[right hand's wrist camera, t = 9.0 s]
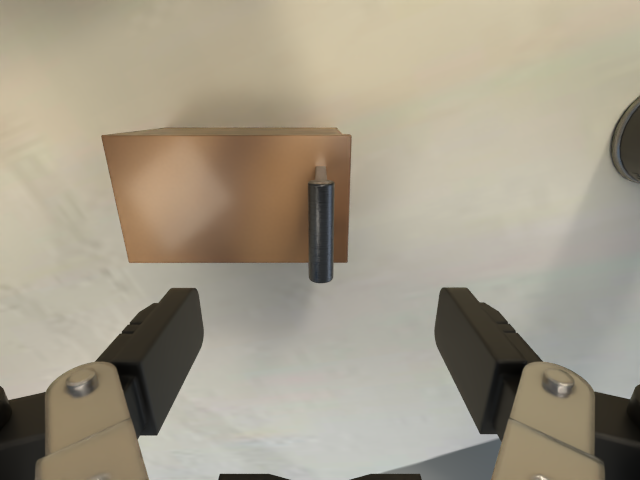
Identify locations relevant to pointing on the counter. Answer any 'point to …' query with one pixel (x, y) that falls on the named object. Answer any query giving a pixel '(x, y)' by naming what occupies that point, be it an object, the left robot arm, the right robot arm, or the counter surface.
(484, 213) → the counter surface
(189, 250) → the lid
